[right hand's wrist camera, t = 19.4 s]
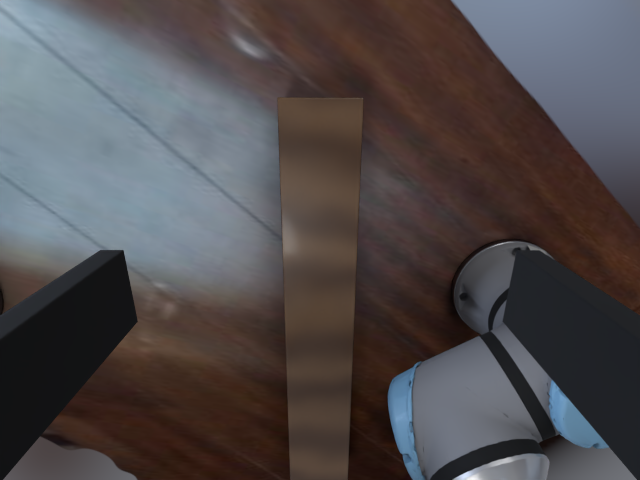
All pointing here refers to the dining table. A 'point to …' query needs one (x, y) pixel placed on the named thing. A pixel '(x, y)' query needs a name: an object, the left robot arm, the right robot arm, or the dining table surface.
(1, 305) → the left robot arm
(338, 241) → the wide beam
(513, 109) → the dining table surface
